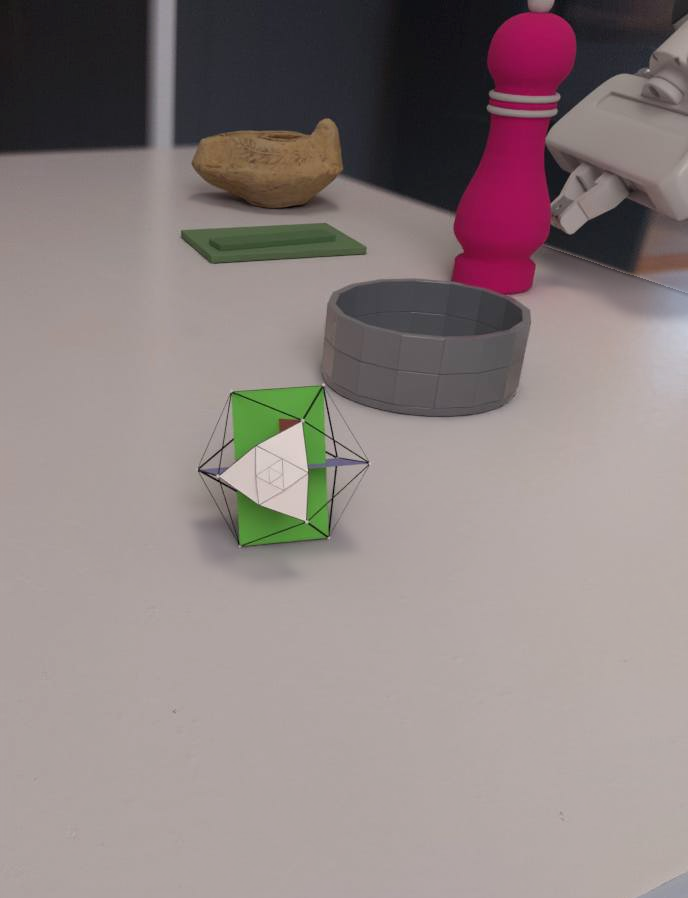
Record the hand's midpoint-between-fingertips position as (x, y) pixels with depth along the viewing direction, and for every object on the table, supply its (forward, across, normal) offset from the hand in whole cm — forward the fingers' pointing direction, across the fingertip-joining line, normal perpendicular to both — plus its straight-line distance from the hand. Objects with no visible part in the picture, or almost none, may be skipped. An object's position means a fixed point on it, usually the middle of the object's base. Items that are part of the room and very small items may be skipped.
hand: (555, 224), depth 80 cm
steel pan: (+15, +20, -9) cm, 27 cm away
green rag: (+17, -13, -11) cm, 24 cm away
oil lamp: (+15, -30, -8) cm, 34 cm away
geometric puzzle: (+25, +38, -18) cm, 49 cm away
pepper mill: (+6, 0, 0) cm, 6 cm away
